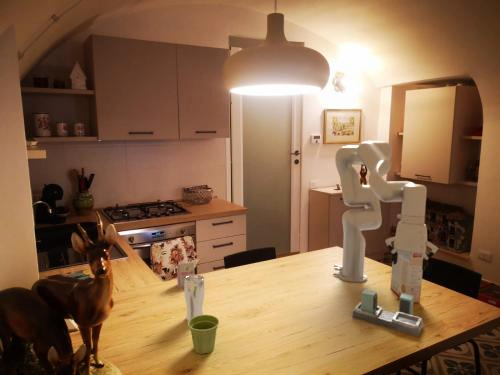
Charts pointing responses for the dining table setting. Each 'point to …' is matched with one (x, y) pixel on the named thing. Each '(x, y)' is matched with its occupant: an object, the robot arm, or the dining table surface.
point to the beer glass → (194, 295)
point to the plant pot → (203, 332)
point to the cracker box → (407, 274)
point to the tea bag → (184, 272)
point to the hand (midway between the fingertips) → (409, 266)
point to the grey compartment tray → (390, 320)
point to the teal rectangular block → (369, 300)
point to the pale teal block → (406, 304)
